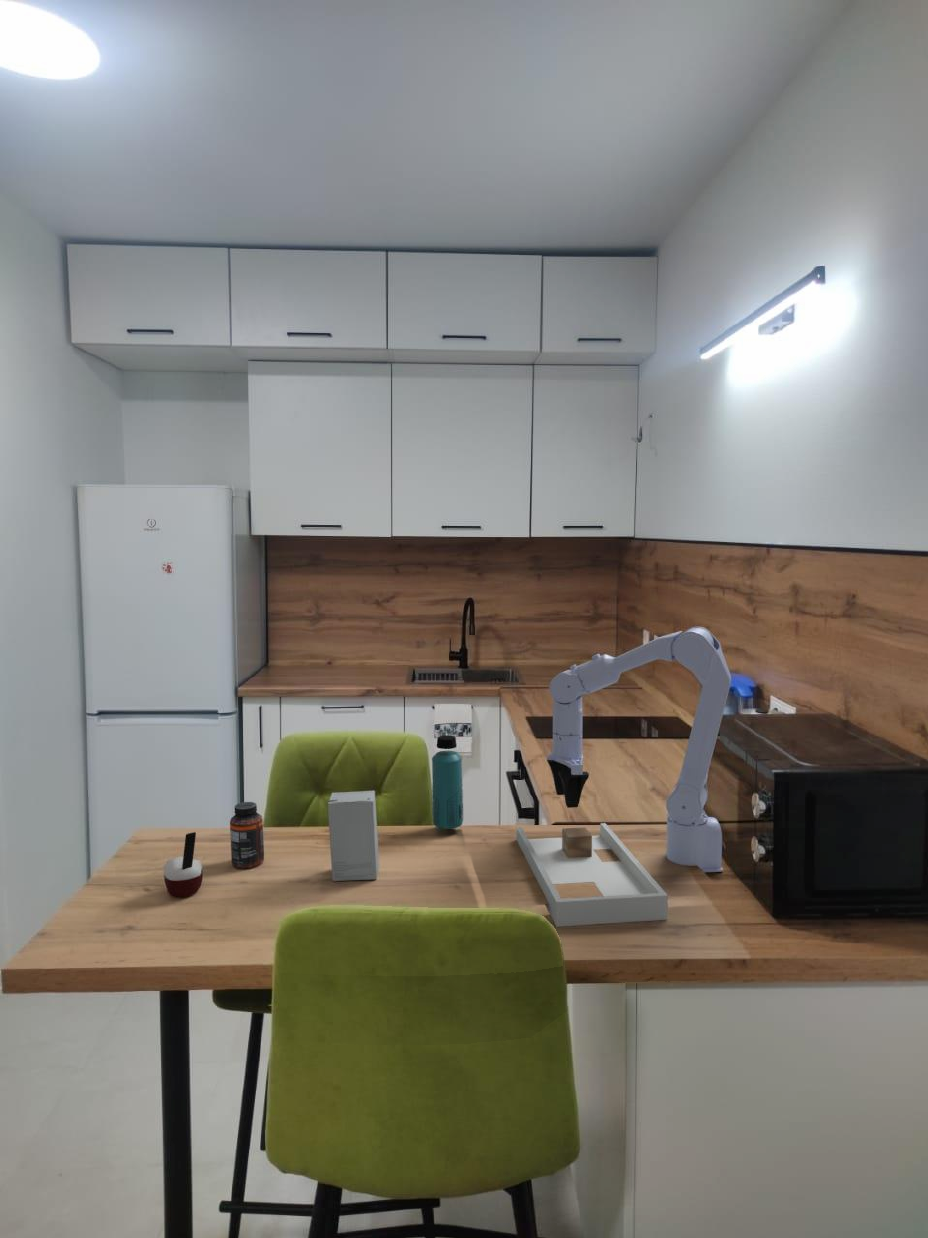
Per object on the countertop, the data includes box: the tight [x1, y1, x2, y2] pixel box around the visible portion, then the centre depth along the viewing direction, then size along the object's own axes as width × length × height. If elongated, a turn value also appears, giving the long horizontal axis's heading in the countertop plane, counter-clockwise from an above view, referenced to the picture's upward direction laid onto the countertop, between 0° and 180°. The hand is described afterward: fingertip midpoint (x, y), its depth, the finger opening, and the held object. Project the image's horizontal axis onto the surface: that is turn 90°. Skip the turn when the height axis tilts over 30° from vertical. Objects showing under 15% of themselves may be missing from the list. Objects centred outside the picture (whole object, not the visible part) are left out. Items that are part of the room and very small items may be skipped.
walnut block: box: [561, 826, 593, 858], centre depth 149 cm, size 4×4×4 cm
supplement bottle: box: [229, 801, 265, 869], centre depth 149 cm, size 6×6×11 cm
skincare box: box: [327, 790, 380, 882], centre depth 143 cm, size 8×6×15 cm
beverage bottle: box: [431, 735, 464, 830], centre depth 165 cm, size 6×7×20 cm
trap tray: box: [516, 822, 669, 928], centre depth 141 cm, size 18×33×4 cm, turn 7°
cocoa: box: [163, 831, 204, 899], centre depth 136 cm, size 10×6×12 cm, turn 16°
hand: (567, 800), depth 155 cm, fingers open, 7 cm apart
